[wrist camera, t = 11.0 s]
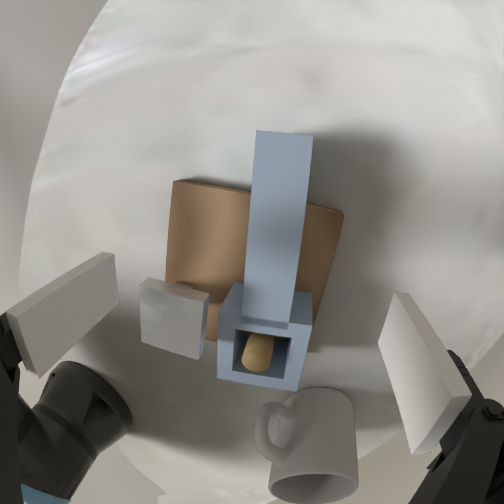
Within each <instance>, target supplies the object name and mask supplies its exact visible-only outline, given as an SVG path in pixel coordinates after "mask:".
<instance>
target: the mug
mask: <svg viewBox="0 0 504 504" xmlns="http://www.w3.org/2000/svg"><path fill="white" fill-rule="evenodd" d="M270 415H271V416H274V417H276V418H277V419H278V420H279V422H278V430H277V437H276V443H275V444H273V443H272V442H271V440H270V439H269V436H268V421H269V417H270ZM254 443H255V446H256V449H257V450H258V452H259V453H260V454H261V455H262V456H264V457H265V458H266V459H268V460H270V461H271V462H272V467H271V472H270V478H269V485H268V488H269V491H270V493H271V494H272V495H273V496H275V497H276V498H278V499H281V500H283V501H287V502H290V503H296V504H325V503H330V502H335V501H338V500H341V499H344V498H346V497H348V496H349V495H351V494H352V493H354V491H356V489H357V487H358V462H357V447H356V434H355V421H354V409H353V404H352V402H351V400H350V399H349V398H348V396H346V395H345V394H344V393H342V392H340V391H338V390H335V389H331V388H324V387H315V388H308V389H304V390H301V391H298V392H296V393H294V394H292V395H291V396H289V397H288V398H287V399H286V400H285V401H284V402H283V404H280V403H277V402H269V403H267V404H265V405H264V406H263V407H262V408H261V410H260V411H259V413H258V415H257V418H256V421H255V426H254Z"/></svg>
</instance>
